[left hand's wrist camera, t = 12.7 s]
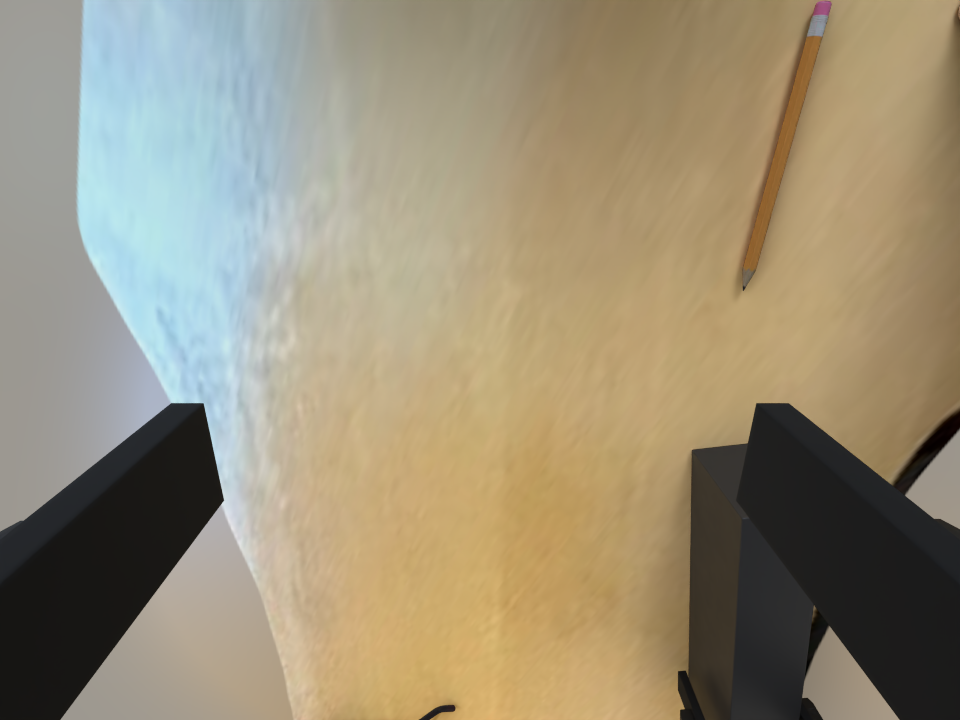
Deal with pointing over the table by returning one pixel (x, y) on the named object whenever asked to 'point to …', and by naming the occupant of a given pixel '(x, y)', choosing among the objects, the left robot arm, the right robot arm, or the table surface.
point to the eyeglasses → (438, 711)
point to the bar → (740, 604)
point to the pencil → (786, 136)
